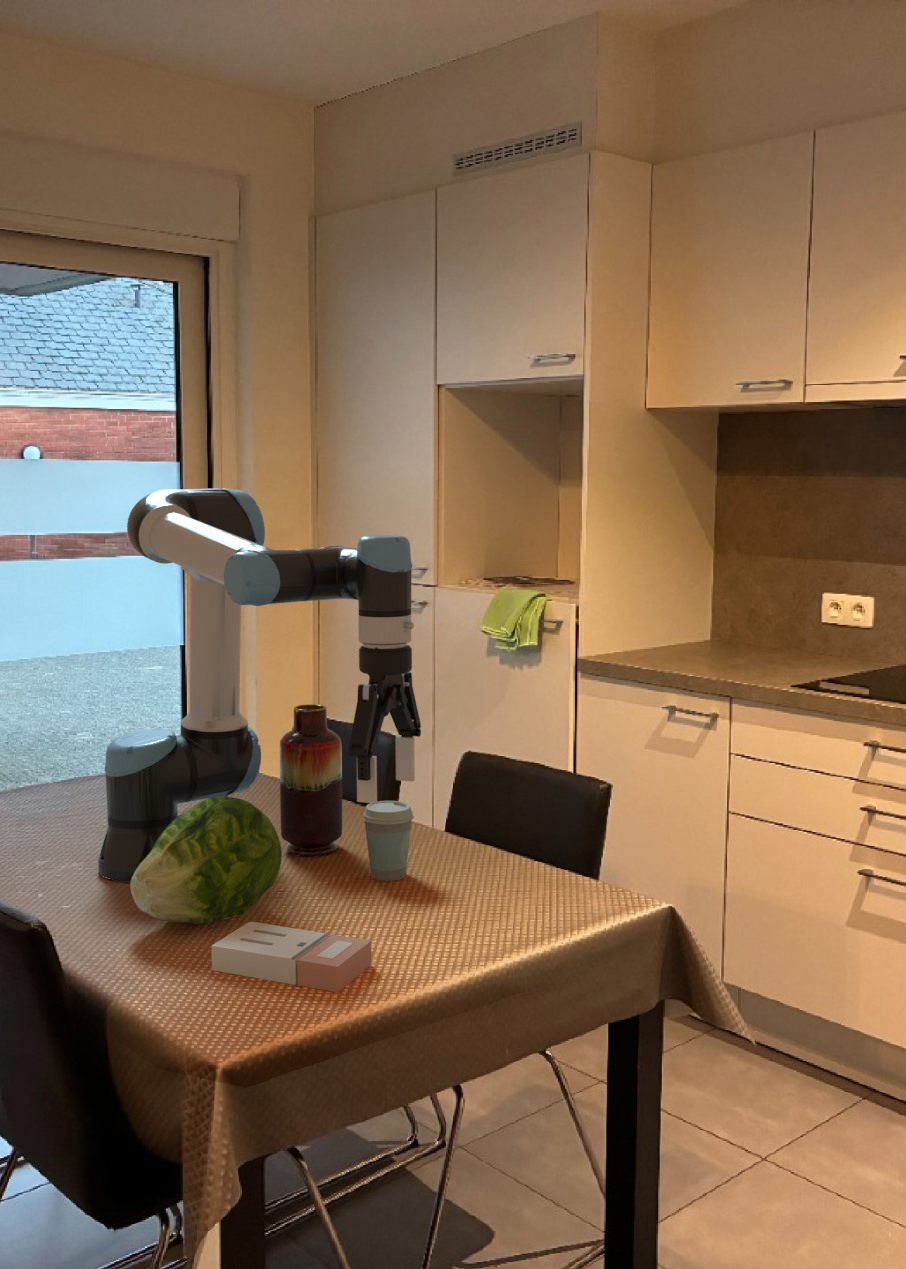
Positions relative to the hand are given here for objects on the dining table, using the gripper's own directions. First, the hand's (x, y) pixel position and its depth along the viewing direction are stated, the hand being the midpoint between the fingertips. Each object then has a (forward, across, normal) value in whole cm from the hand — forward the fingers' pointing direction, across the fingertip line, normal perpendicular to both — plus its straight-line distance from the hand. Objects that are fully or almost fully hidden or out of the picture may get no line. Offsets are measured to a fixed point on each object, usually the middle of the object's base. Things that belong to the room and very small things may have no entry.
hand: (386, 791), depth 180 cm
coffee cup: (+22, +26, +12) cm, 36 cm away
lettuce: (+22, -2, +29) cm, 37 cm away
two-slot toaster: (+22, -15, +11) cm, 29 cm away
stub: (+22, -15, +1) cm, 27 cm away
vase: (+22, +35, +30) cm, 51 cm away
